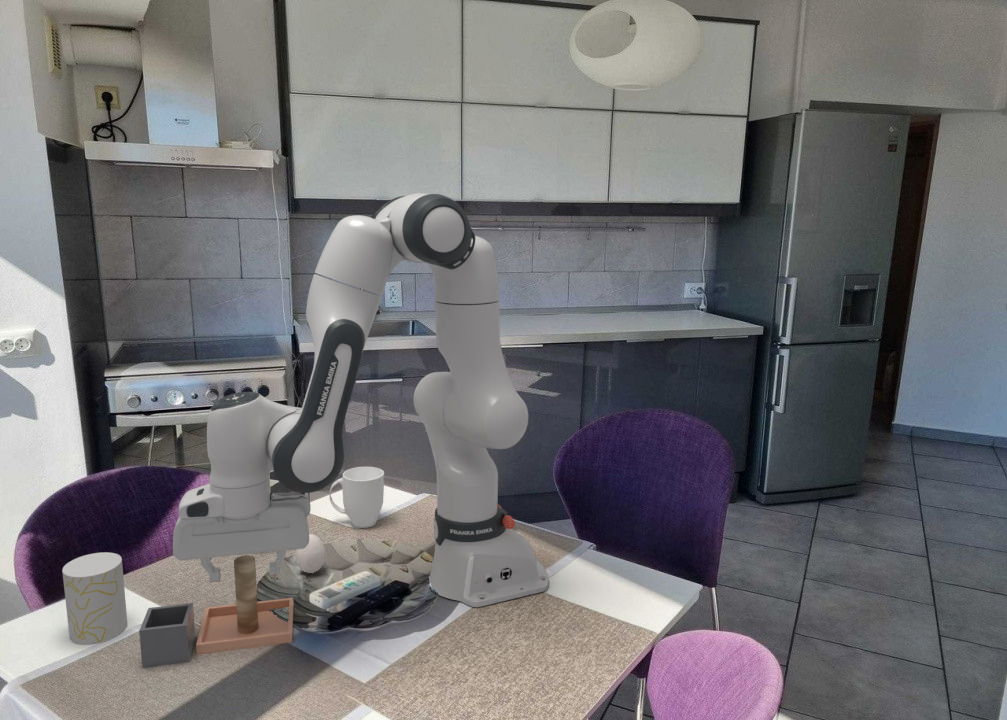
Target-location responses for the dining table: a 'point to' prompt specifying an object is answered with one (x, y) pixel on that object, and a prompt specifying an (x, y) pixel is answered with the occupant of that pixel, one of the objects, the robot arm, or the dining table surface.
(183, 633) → the holder
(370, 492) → the mug
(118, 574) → the grey patterned cylinder
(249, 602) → the dowel
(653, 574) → the dining table surface
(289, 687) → the dining table surface
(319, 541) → the egg
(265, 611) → the tray
